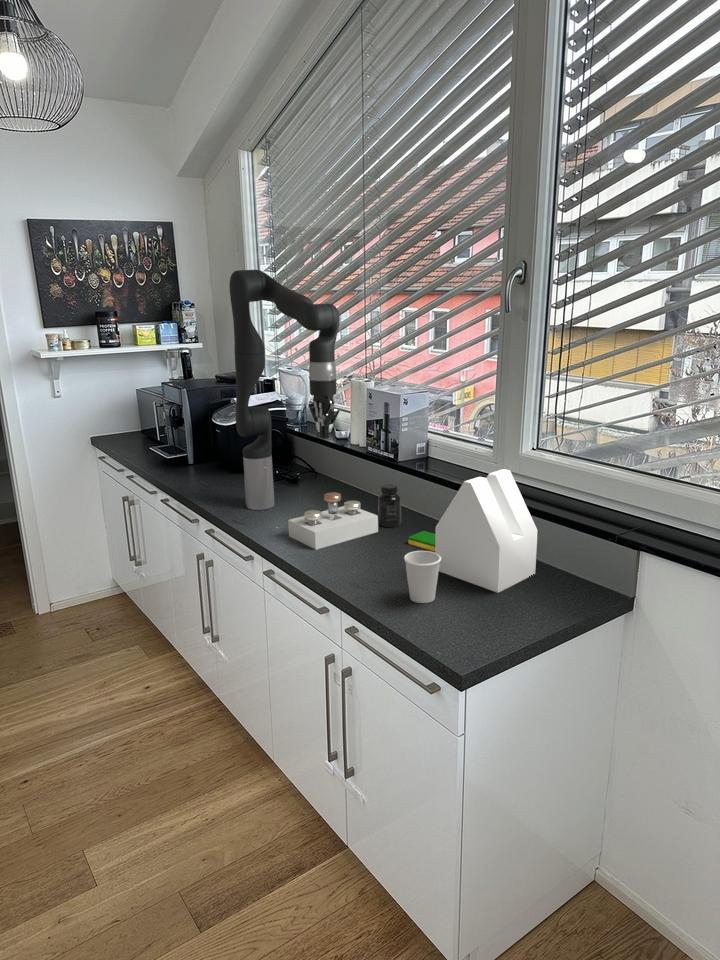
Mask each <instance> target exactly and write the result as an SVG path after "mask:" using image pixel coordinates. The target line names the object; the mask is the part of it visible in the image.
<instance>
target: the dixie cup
mask: <svg viewBox="0 0 720 960" xmlns="http://www.w3.org/2000/svg"><path fill="white" fill-rule="evenodd" d="M403 559H404V563H405V571H406V577H407V584H408V585H407V586H408V592H409V598H410V601H412V602H413V603H414V602H415V603H417V604H427V603H432V602H433V601H434V600H435V598H436V593H437V584H438V579H439V573H440V571H439V565H440V561H441V557H440V556H439V555H438V554H437V553H435V552H434V551H431V550H416V551H409V552H408V553H406V554H405V555H404V557H403Z"/></svg>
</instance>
